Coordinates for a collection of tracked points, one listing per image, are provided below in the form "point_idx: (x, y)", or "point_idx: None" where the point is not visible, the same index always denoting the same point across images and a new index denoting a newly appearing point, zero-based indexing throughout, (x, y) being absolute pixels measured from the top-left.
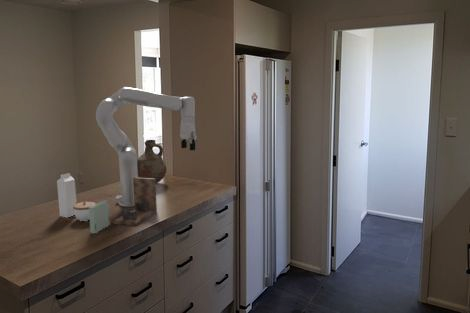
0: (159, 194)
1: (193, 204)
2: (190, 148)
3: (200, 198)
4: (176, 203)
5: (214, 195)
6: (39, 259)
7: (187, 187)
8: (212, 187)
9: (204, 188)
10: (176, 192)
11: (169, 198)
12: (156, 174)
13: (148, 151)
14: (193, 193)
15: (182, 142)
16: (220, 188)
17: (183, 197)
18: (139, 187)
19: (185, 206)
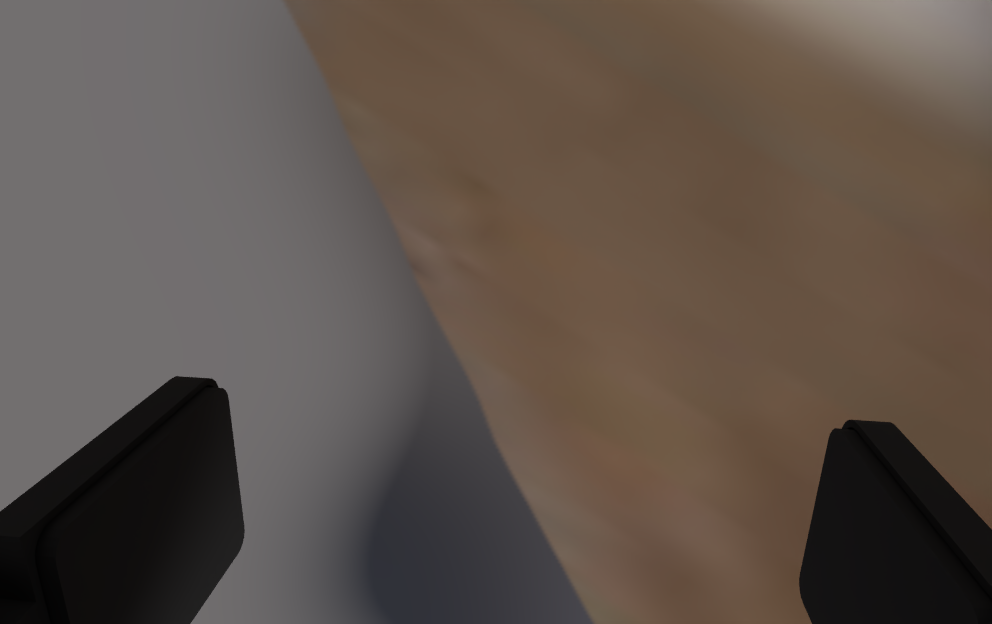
0: (981, 32)
1: (376, 132)
2: (145, 410)
3: (516, 299)
4: (513, 6)
5: (520, 450)
6: None
7: (974, 432)
8: (771, 594)
9: (799, 526)
10: (894, 236)
11: (738, 43)
12: None
13: None
14: (720, 348)
15: (953, 604)
16: (686, 619)
17: (663, 188)
18: None
19: (361, 28)
